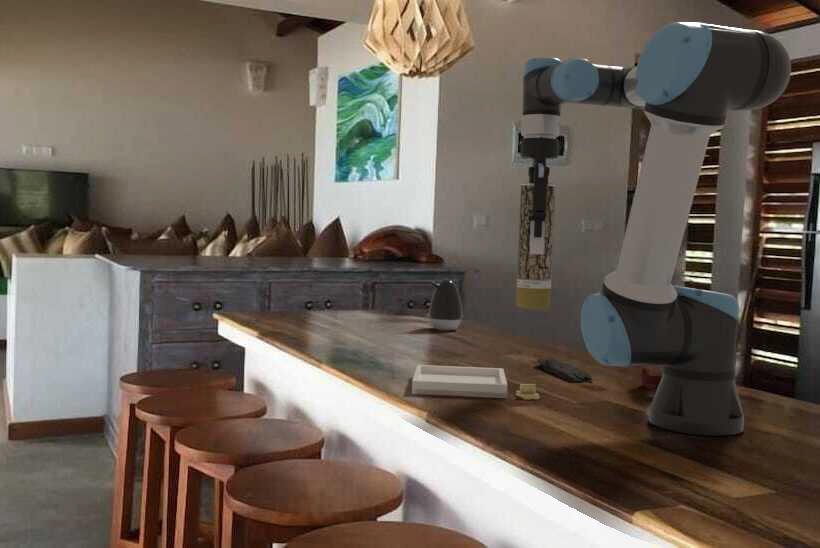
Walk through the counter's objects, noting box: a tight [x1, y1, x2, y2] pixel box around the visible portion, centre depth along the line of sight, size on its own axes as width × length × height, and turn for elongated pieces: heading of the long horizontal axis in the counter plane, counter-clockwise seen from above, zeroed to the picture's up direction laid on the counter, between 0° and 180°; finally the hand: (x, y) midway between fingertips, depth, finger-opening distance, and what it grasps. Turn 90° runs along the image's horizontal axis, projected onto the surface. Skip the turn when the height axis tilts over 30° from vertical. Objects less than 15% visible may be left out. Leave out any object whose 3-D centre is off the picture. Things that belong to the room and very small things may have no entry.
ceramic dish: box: [411, 364, 508, 399], centre depth 171 cm, size 18×18×2 cm
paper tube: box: [515, 182, 556, 310], centre depth 172 cm, size 7×7×25 cm
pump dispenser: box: [428, 278, 464, 332], centre depth 258 cm, size 10×10×15 cm
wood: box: [536, 357, 593, 384], centre depth 190 cm, size 22×7×3 cm, turn 15°
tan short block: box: [515, 383, 540, 401], centre depth 163 cm, size 4×3×3 cm
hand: (535, 253), depth 172 cm, fingers closed on paper tube, 7 cm apart
